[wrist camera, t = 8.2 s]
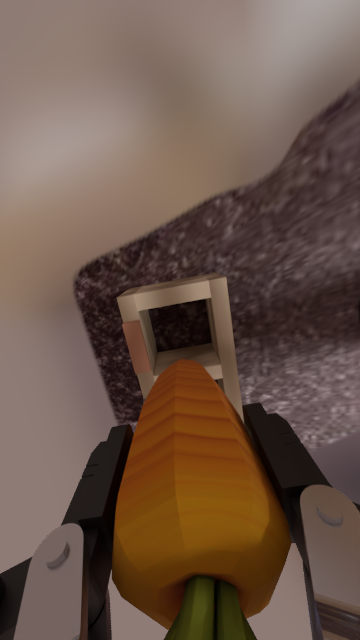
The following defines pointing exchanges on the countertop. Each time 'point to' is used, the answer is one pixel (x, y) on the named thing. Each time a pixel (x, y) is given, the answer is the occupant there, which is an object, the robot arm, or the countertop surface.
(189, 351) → the frame
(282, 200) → the countertop surface
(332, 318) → the countertop surface
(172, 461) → the carrot
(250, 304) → the countertop surface
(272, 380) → the countertop surface
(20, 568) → the robot arm
